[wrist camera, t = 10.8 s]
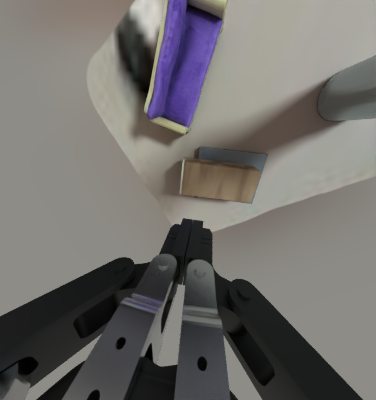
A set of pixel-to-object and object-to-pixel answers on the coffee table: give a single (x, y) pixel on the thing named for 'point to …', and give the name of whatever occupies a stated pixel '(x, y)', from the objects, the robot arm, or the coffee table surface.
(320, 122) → the coffee table surface
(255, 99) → the coffee table surface
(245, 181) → the walnut block
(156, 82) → the toy sofa
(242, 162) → the mat
